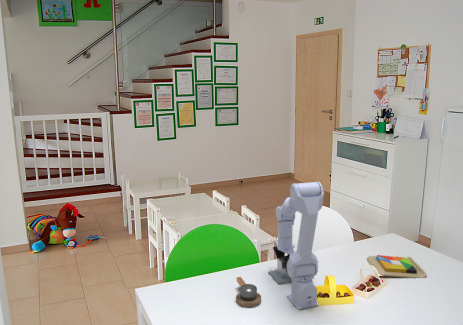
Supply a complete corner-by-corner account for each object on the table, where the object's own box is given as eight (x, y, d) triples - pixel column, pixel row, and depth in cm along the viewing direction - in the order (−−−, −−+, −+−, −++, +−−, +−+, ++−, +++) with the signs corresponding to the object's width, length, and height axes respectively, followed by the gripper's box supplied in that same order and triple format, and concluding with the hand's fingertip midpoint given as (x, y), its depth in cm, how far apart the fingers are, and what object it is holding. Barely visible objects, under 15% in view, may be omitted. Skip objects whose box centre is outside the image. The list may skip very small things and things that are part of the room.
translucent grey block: (290, 276, 164) (291, 260, 163) (281, 278, 163) (281, 261, 162) (286, 272, 168) (286, 256, 167) (277, 274, 167) (277, 257, 165)
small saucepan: (259, 298, 146) (259, 290, 146) (243, 302, 144) (243, 293, 144) (246, 281, 159) (245, 273, 158) (231, 284, 157) (231, 276, 156)
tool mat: (301, 280, 163) (301, 278, 163) (278, 284, 160) (278, 283, 160) (290, 269, 172) (290, 267, 172) (268, 273, 169) (268, 271, 169)
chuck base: (265, 304, 146) (265, 301, 145) (241, 309, 143) (240, 305, 143) (255, 292, 154) (255, 288, 154) (232, 296, 151) (232, 293, 151)
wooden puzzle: (427, 279, 163) (428, 271, 162) (378, 279, 163) (379, 271, 163) (409, 259, 180) (410, 252, 179) (365, 260, 181) (366, 252, 180)
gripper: (303, 241, 157) (302, 274, 160) (286, 228, 170) (285, 259, 173) (286, 243, 155) (285, 277, 157) (270, 230, 168) (270, 261, 171)
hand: (284, 268), depth 165 cm, fingers open, 7 cm apart
